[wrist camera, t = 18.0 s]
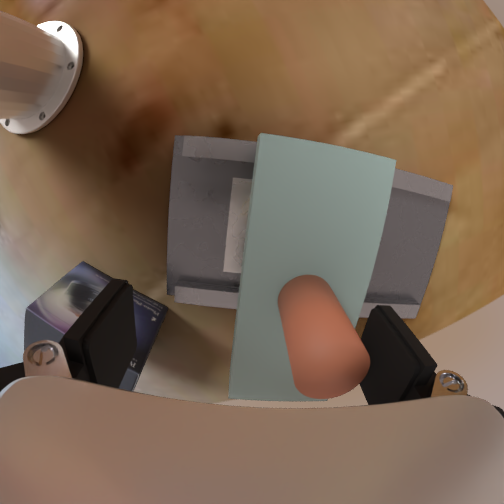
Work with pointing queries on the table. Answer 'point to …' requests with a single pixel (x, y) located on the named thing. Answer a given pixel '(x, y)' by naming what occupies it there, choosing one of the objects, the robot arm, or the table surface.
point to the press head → (307, 269)
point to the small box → (73, 305)
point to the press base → (235, 222)
